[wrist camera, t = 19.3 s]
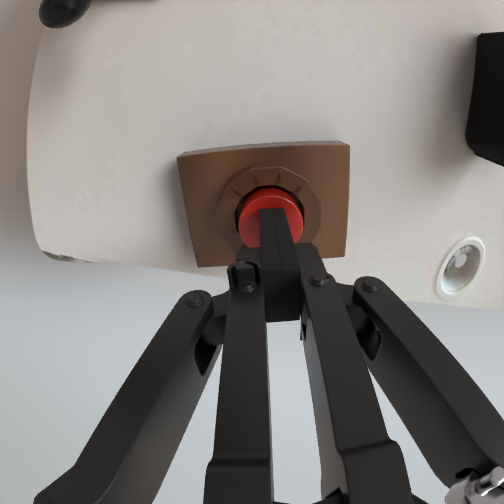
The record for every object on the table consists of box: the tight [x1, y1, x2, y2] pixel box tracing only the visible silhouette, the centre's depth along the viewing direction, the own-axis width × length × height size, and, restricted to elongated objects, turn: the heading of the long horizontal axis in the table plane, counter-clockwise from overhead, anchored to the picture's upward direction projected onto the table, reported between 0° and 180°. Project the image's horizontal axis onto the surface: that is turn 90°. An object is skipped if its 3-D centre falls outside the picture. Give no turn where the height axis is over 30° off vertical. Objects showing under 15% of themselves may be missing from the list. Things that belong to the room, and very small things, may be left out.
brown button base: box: [177, 141, 350, 268], centre depth 19 cm, size 12×9×4 cm
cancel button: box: [238, 188, 303, 248], centre depth 17 cm, size 4×4×2 cm
